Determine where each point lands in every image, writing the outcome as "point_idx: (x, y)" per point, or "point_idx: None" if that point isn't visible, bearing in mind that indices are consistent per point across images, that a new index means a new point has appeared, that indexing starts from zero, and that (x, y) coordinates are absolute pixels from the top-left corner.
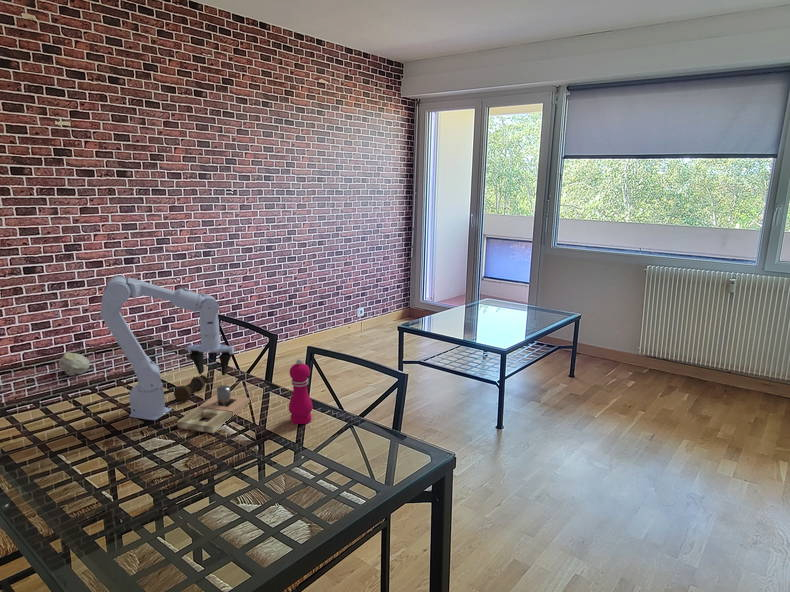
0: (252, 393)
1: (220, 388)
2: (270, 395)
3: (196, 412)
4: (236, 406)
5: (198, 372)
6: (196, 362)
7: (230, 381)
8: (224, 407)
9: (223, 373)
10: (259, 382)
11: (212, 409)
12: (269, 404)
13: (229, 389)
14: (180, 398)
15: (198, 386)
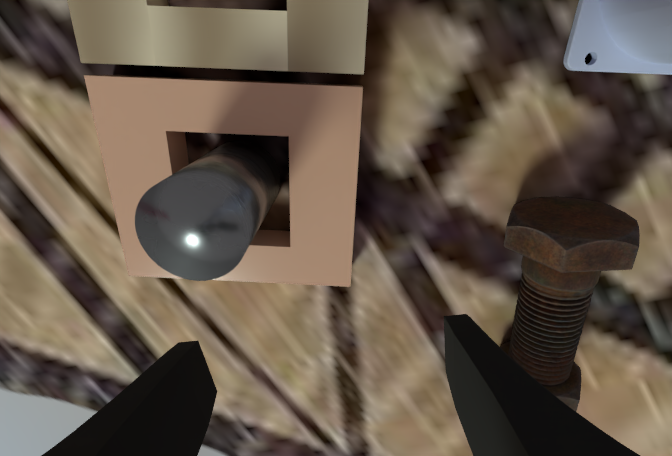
0: (215, 358)
1: (206, 216)
2: (118, 356)
3: None
4: (116, 153)
5: (477, 325)
6: (559, 443)
7: (394, 439)
8: (178, 117)
9: (166, 354)
10: (257, 451)
11: (237, 65)
12: (48, 272)
13: (144, 233)
14: (564, 204)
15: (512, 345)
